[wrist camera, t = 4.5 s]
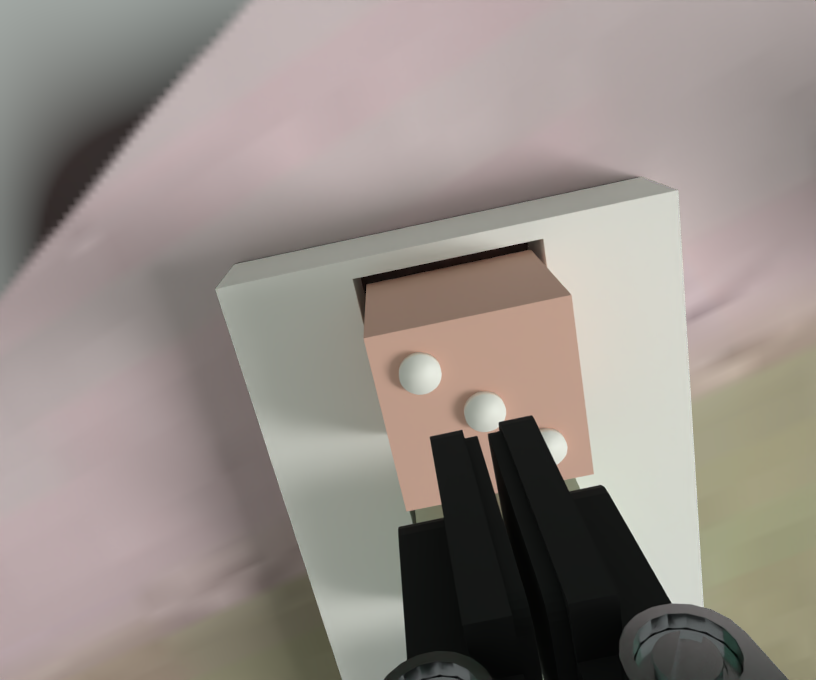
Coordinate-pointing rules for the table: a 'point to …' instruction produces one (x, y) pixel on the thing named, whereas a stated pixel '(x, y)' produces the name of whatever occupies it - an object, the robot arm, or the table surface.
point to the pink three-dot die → (475, 363)
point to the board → (362, 417)
